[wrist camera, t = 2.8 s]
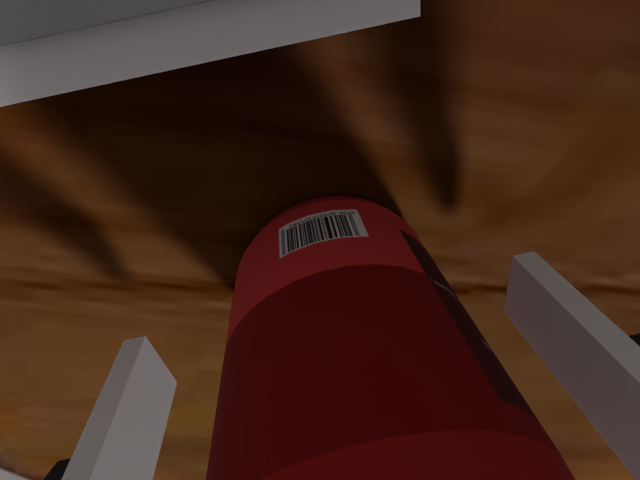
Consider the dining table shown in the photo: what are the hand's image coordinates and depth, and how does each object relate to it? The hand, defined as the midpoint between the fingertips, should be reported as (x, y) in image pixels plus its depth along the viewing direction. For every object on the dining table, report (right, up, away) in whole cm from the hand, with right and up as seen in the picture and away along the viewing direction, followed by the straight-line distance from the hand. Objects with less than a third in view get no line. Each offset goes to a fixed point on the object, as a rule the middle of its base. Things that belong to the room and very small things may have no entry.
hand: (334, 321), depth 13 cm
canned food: (0, +2, +3) cm, 3 cm away
